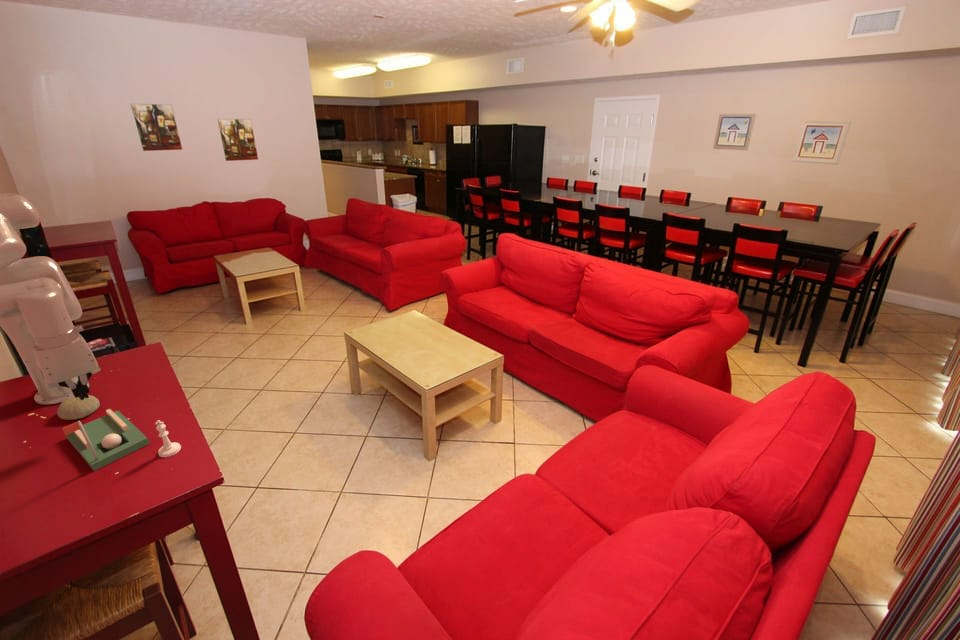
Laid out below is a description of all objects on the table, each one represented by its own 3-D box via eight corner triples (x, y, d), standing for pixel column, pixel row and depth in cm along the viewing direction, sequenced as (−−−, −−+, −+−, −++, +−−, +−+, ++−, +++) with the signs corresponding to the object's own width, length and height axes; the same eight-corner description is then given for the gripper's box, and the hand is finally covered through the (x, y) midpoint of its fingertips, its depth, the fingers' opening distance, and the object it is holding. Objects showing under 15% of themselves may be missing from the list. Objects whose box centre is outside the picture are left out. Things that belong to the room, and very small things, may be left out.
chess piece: (175, 456, 110) (164, 426, 105) (154, 458, 109) (142, 427, 105) (184, 443, 114) (173, 413, 110) (164, 445, 113) (152, 415, 109)
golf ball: (103, 445, 108) (107, 455, 110) (122, 436, 111) (126, 446, 113) (96, 436, 109) (100, 446, 111) (115, 427, 112) (119, 437, 114)
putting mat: (59, 441, 113) (37, 398, 107) (120, 415, 124) (103, 375, 117) (86, 474, 103) (63, 430, 97) (149, 443, 114) (132, 401, 107)
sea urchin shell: (78, 419, 119) (53, 400, 117) (70, 432, 122) (45, 414, 121) (109, 400, 127) (86, 382, 125) (101, 412, 130) (78, 395, 129)
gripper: (89, 321, 111) (111, 378, 119) (9, 343, 100) (40, 405, 108) (100, 331, 107) (123, 389, 116) (18, 355, 96) (50, 417, 105)
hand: (83, 396), depth 112 cm, fingers closed
